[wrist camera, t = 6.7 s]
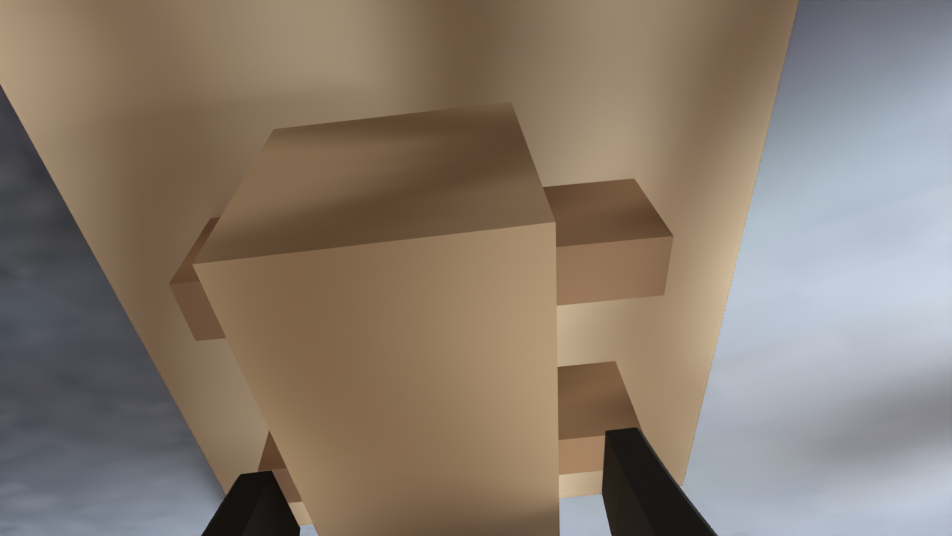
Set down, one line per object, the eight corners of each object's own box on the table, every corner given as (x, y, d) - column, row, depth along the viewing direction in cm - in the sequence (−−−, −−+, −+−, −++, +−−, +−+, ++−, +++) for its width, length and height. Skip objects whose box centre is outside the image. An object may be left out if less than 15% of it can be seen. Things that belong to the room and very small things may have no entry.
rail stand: (798, -97, 11) (923, -87, 8) (674, 466, 21) (711, 555, 19) (-29, -28, 11) (-187, 7, 8) (251, 510, 21) (225, 607, 18)
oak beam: (511, 102, 9) (555, 222, 6) (534, 508, 16) (561, 667, 13) (273, 129, 9) (192, 264, 6) (397, 525, 16) (389, 688, 13)
